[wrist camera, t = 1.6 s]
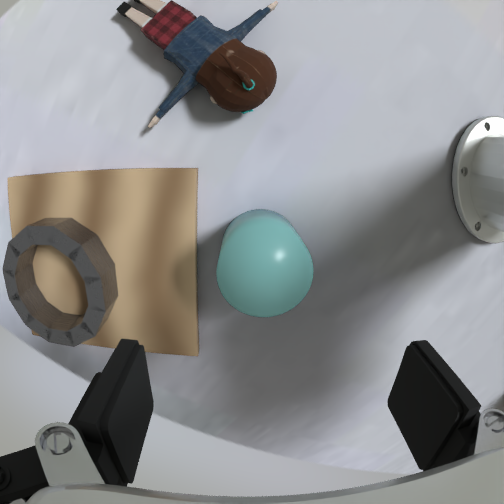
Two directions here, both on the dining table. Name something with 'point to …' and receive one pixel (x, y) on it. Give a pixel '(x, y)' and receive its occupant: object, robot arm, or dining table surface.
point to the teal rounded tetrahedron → (263, 264)
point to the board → (122, 249)
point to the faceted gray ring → (86, 262)
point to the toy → (208, 56)
